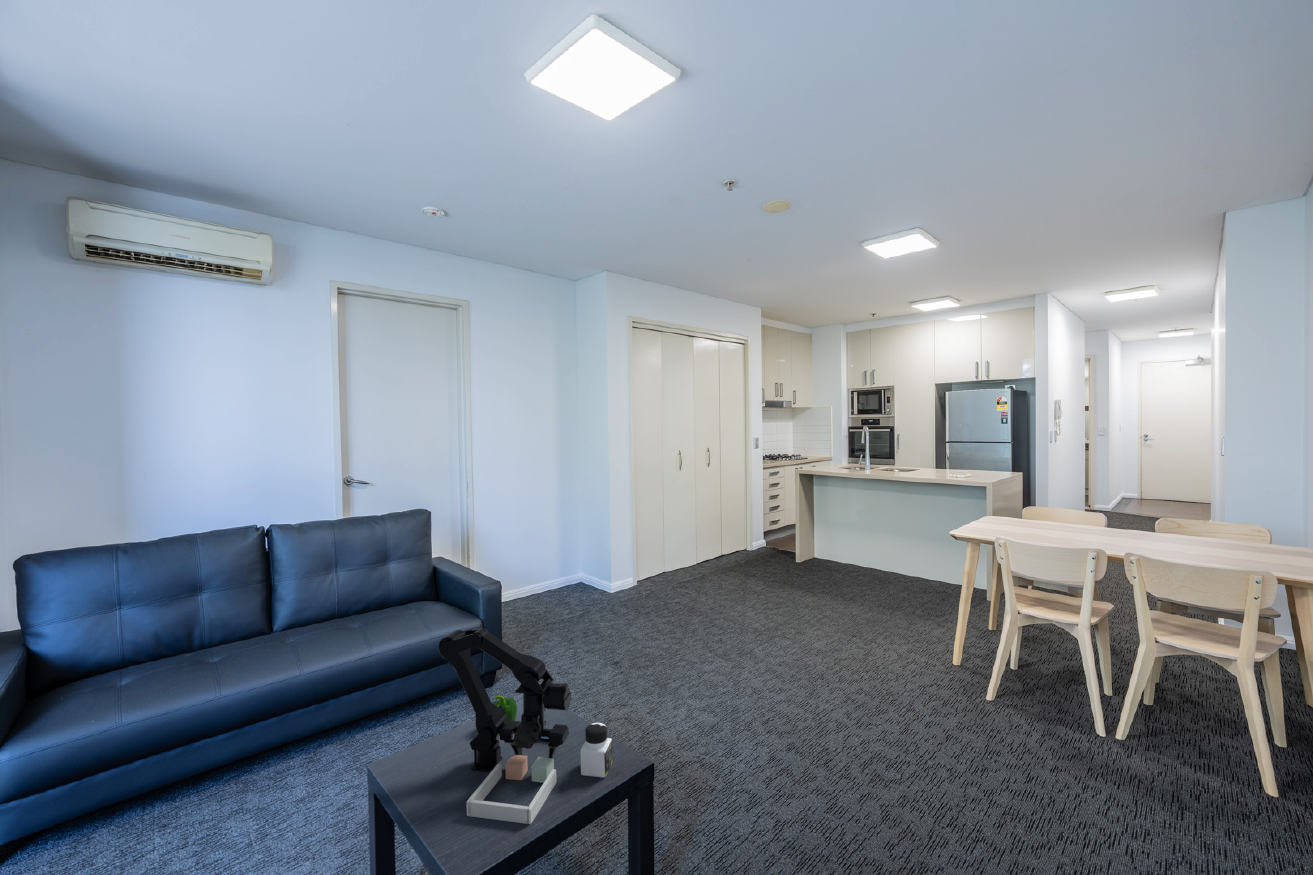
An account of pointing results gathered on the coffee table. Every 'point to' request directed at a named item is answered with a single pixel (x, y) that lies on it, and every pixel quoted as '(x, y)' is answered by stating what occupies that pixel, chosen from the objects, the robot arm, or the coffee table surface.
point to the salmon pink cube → (516, 767)
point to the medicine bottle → (596, 751)
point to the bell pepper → (507, 707)
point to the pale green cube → (542, 769)
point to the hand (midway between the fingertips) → (535, 762)
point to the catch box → (507, 811)
